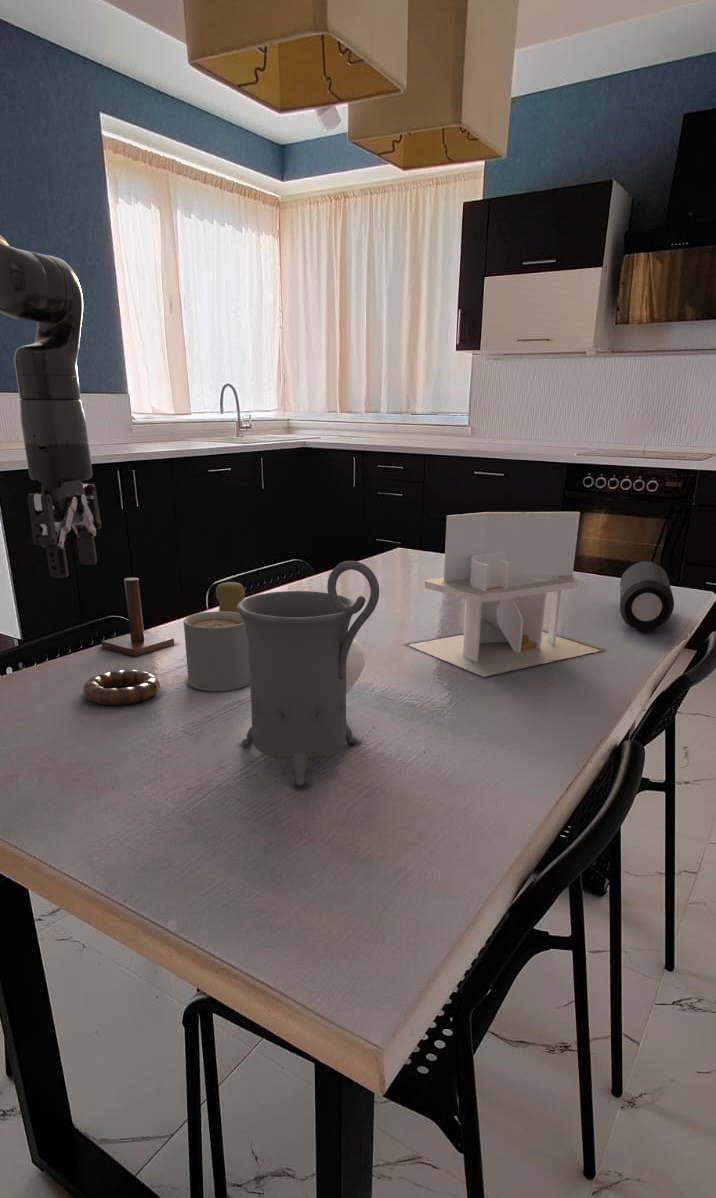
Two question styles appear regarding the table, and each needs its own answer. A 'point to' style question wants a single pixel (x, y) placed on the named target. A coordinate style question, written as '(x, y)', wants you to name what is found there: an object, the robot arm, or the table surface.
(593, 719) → the table surface
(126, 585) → the post
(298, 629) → the mug
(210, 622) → the coffee mug
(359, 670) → the spinning top
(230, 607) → the cork
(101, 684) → the ring
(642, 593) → the portable speaker
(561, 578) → the architectural model
